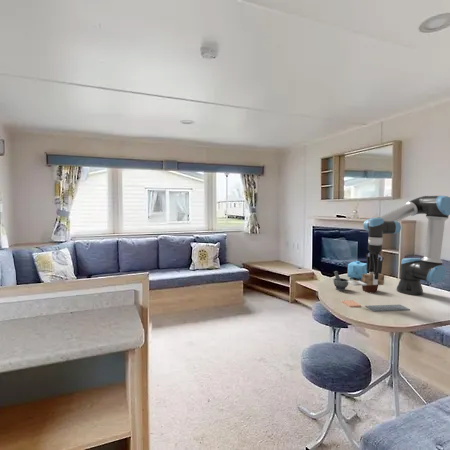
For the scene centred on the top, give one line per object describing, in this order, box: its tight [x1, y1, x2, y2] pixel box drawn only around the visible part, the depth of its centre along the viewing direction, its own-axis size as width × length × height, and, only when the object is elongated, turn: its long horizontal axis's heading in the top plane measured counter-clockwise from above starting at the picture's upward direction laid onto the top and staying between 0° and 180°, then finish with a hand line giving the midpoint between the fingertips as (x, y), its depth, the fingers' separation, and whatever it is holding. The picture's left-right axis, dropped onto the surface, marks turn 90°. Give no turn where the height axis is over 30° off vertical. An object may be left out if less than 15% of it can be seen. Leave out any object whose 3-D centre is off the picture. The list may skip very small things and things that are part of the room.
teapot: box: [347, 260, 368, 281], centre depth 244 cm, size 22×11×14 cm, turn 142°
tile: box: [341, 299, 362, 308], centre depth 183 cm, size 1×9×7 cm
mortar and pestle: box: [332, 270, 349, 292], centre depth 213 cm, size 11×9×12 cm
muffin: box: [360, 279, 379, 293], centre depth 211 cm, size 12×11×10 cm
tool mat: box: [365, 304, 411, 312], centre depth 177 cm, size 22×8×1 cm, turn 98°
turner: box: [347, 273, 385, 287], centre depth 183 cm, size 20×7×6 cm, turn 98°
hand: (373, 283), depth 184 cm, fingers closed on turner, 3 cm apart
